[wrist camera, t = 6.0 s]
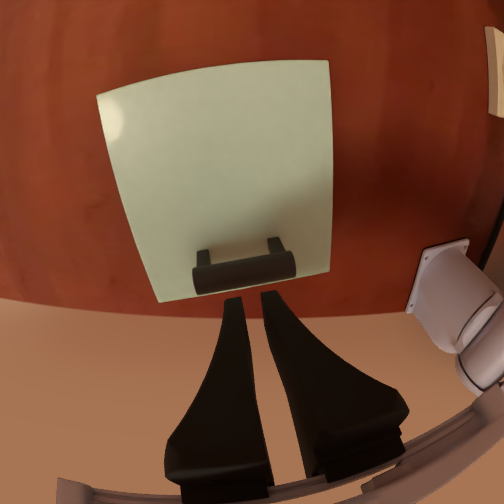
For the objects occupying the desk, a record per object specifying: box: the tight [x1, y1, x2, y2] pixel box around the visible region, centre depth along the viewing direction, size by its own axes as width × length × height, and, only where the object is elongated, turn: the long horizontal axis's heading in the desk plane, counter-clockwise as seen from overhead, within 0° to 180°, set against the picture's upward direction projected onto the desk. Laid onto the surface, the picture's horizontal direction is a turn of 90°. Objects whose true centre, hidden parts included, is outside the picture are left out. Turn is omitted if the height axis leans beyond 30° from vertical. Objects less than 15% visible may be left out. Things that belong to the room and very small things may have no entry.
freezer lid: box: [96, 60, 333, 303], centre depth 13 cm, size 13×11×4 cm
